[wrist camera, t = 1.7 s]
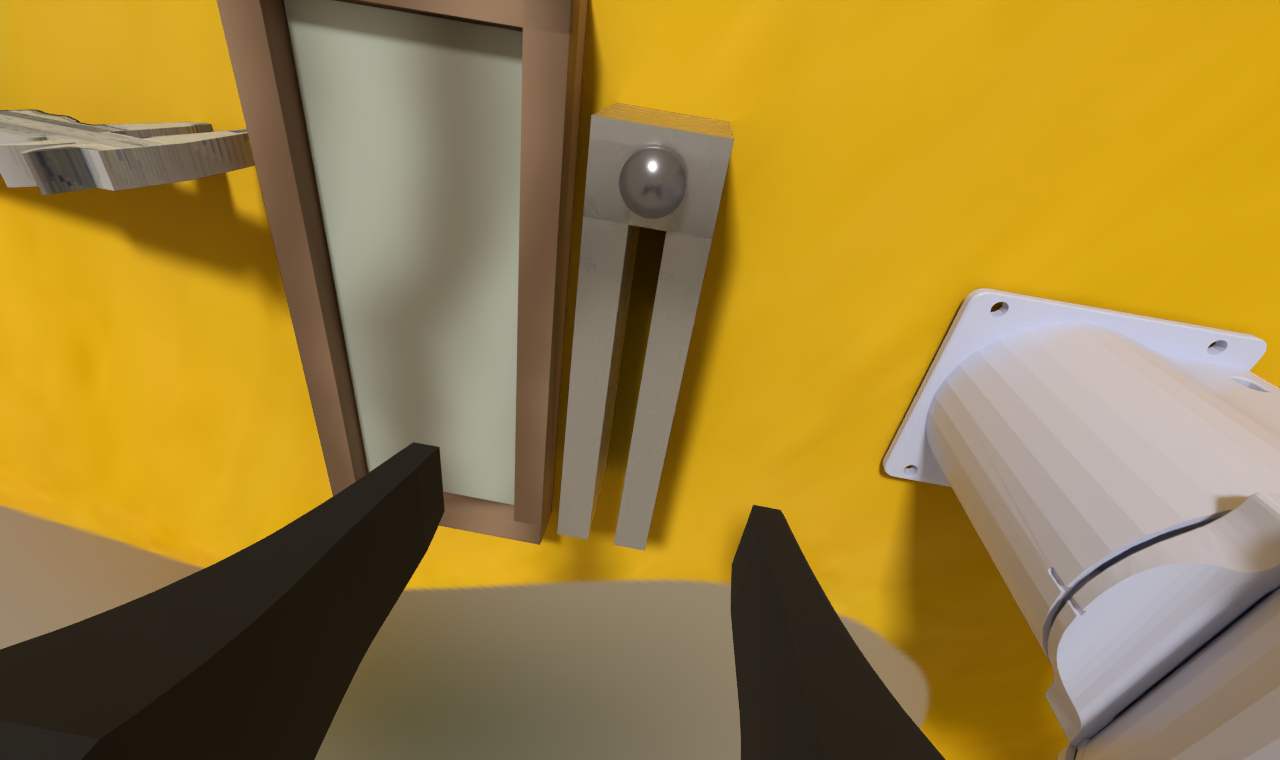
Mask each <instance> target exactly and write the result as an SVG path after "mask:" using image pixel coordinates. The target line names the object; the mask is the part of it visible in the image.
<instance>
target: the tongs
mask: <svg viewBox="0 0 1280 760" xmlns="http://www.w3.org/2000/svg"><path fill="white" fill-rule="evenodd" d="M733 141H734V138H733V134H732V131H731V127H730V124H729V122H727V121H722V120H716V119H710V118H704V117H698V116H692V115H686V114H680V113H674V112H668V111H662V110H657V109H651V108H645V107H639V106H633V105H627V104H621V103H616V104H614V105H612V106H609V107H607V108H605V109H603V110H601V111H599V112H597V113H595V114H592V115H591V127H590V139H589V151H588V163H587V176H586V188H585V200H584V212H583V224H582V237H581V249H580V261H579V273H578V286H577V298H576V310H575V322H574V334H573V347H572V359H571V371H570V383H569V395H568V408H567V420H566V432H565V444H564V456H563V469H562V481H561V493H560V505H559V518H558V530H557V534H560V535H565V536H571V537H576V538H581V539H586V540H588V538H589V534H590V530H591V526H592V522H593V518H594V514H595V511H596V507H597V503H598V499H599V495H600V491H601V487H602V483H603V479H604V476H605V472H606V466H607V459H608V451H609V444H610V437H611V430H612V423H613V416H614V409H615V402H616V394H617V387H618V380H619V373H620V366H621V359H622V352H623V345H624V338H625V330H626V323H627V316H628V309H629V302H630V295H631V288H632V281H633V274H634V266H635V259H636V252H637V245H638V238H639V231H640V227H645V228H650V229H656V230H662V231H666V237H665V243H664V249H663V255H662V261H661V267H660V272H659V278H658V284H657V290H656V296H655V302H654V308H653V314H652V320H651V326H650V332H649V338H648V344H647V350H646V356H645V362H644V368H643V374H642V380H641V386H640V391H639V397H638V403H637V409H636V415H635V421H634V427H633V433H632V439H631V445H630V451H629V457H628V463H627V469H626V475H625V481H624V487H623V493H622V499H621V505H620V511H619V516H618V522H617V528H616V534H615V540H614V545H618V546H623V547H629V548H634V549H639V550H644V551H645V547H646V543H647V538H648V533H649V529H650V524H651V519H652V515H653V510H654V506H655V501H656V496H657V492H658V487H659V482H660V478H661V473H662V469H663V464H664V459H665V455H666V450H667V445H668V441H669V436H670V432H671V427H672V422H673V418H674V413H675V409H676V404H677V399H678V395H679V390H680V385H681V381H682V376H683V372H684V367H685V362H686V358H687V353H688V348H689V344H690V339H691V335H692V330H693V325H694V321H695V316H696V312H697V307H698V302H699V298H700V293H701V288H702V284H703V279H704V275H705V270H706V265H707V261H708V256H709V251H710V247H711V242H712V238H713V233H714V228H715V224H716V219H717V214H718V210H719V205H720V201H721V196H722V191H723V187H724V182H725V178H726V173H727V168H728V164H729V159H730V154H731V150H732V145H733Z"/></svg>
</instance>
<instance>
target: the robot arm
mask: <svg viewBox="0 0 1280 760" xmlns="http://www.w3.org/2000/svg"><path fill="white" fill-rule="evenodd" d="M998 302H1003V304H1002V307H1001V308H1000V309H999V310H997V311H995V312H990V311H991V308H992V307H993V305H994V304H996V303H998ZM1216 341H1217V342H1216ZM1213 342H1216V343H1215V344H1214V345H1213V346H1212V347H1210V348H1208V347H1209V345H1211V344H1212V343H1213ZM1266 349H1267V344H1266V343H1265V341H1264V340H1262V339H1260V338H1258V337H1256V336H1253V335H1251V334H1245V333H1239V332H1234V331H1228V330H1222V329H1217V328H1211V327H1205V326H1199V325H1194V324H1188V323H1182V322H1176V321H1171V320H1165V319H1159V318H1154V317H1148V316H1142V315H1136V314H1131V313H1125V312H1119V311H1114V310H1108V309H1102V308H1096V307H1091V306H1085V305H1079V304H1073V303H1068V302H1062V301H1056V300H1051V299H1045V298H1039V297H1033V296H1028V295H1022V294H1016V293H1011V292H1005V291H999V290H993V289H988V288H980V289H977V290H974V291H973V292H971V293H970V294H968V296H967V297H966V298H965V300H964V302H963V304H962V306H961V308H960V309H959V311H958V313H957V315H956V317H955V319H954V321H953V323H952V325H951V327H950V329H949V331H948V333H947V335H946V337H945V339H944V341H943V343H942V345H941V347H940V349H939V351H938V353H937V355H936V357H935V359H934V361H933V363H932V365H931V367H930V369H929V371H928V373H927V375H926V376H925V378H924V380H923V382H922V384H921V386H920V388H919V390H918V392H917V394H916V396H915V398H914V400H913V402H912V404H911V406H910V408H909V410H908V412H907V414H906V416H905V418H904V420H903V422H902V424H901V426H900V428H899V430H898V432H897V434H896V436H895V438H894V440H893V442H892V443H891V445H890V447H889V449H888V451H887V453H886V455H885V457H884V459H883V463H882V464H883V467H884V470H885V472H886V473H887V474H888V475H890V476H893V477H898V478H904V479H909V480H915V481H920V482H926V483H931V484H936V485H942V486H947V487H952V489H953V491H954V493H955V495H956V496H957V498H958V500H959V502H960V503H961V505H962V507H963V509H964V511H965V512H966V514H967V516H968V518H969V519H970V521H971V523H972V525H973V527H974V528H975V530H976V532H977V534H978V535H979V537H980V539H981V541H982V543H983V544H984V546H985V548H986V550H987V552H988V553H989V555H990V557H991V559H992V560H993V562H994V564H995V566H996V568H997V569H998V571H999V573H1000V575H1001V576H1002V578H1003V580H1004V582H1005V584H1006V585H1007V587H1008V589H1009V591H1010V592H1011V594H1012V596H1013V598H1014V600H1015V601H1016V603H1017V605H1018V607H1019V609H1020V610H1021V612H1022V614H1023V616H1024V617H1025V619H1026V621H1027V623H1028V625H1029V626H1030V628H1031V630H1032V632H1033V633H1034V635H1035V637H1036V639H1037V641H1038V642H1039V644H1040V646H1041V648H1042V649H1043V651H1044V653H1045V655H1046V657H1047V658H1048V660H1049V661H1050V662H1051V665H1052V668H1053V671H1054V681H1053V683H1052V685H1051V686H1050V688H1049V689H1048V690H1047V691H1046V693H1045V697H1046V699H1047V701H1048V702H1049V704H1050V706H1051V708H1052V710H1053V712H1054V714H1055V716H1056V718H1057V720H1058V721H1059V723H1060V725H1061V727H1062V729H1063V731H1064V733H1065V735H1066V737H1067V739H1068V741H1069V742H1070V743H1069V744H1068V745H1067V746H1066V747H1065V748H1064V749H1063V750H1062V751H1060V753H1059V755H1058V757H1057V759H1056V760H1280V389H1279V388H1278V387H1276V386H1274V385H1272V384H1271V383H1269V382H1267V381H1266V380H1264V379H1262V378H1260V377H1259V376H1257V375H1255V374H1253V373H1252V372H1250V369H1251V368H1252V367H1253V366H1254V365H1255V364H1256V363H1257V362H1258V360H1259V359H1260V358H1261V357H1262V356H1263V355H1264V353H1265V351H1266ZM909 465H914V466H913V467H911V468H909V469H904V468H905V467H907V466H909ZM444 511H445V508H444V496H443V483H442V471H441V458H440V447H437V446H432V445H426V444H421V443H416V442H413V443H412V444H410V445H409V446H407V447H406V448H404V449H402V450H401V451H399V452H398V453H397V454H395V455H394V456H392V457H391V458H389V459H388V460H386V461H385V462H383V463H382V464H381V465H379V466H378V467H376V468H375V469H373V470H372V471H370V472H369V473H368V474H366V475H365V476H363V477H362V478H360V479H359V480H357V481H356V482H354V483H353V484H351V485H350V486H348V487H347V488H345V489H344V490H342V491H341V492H339V493H338V494H336V495H335V496H333V497H332V498H330V499H329V500H327V501H326V502H324V503H322V504H321V505H319V506H318V507H316V508H314V509H313V510H311V511H309V512H308V513H306V514H305V515H303V516H301V517H300V518H298V519H296V520H295V521H293V522H291V523H290V524H288V525H286V526H285V527H283V528H282V529H280V530H278V531H276V532H274V533H273V534H271V535H269V536H267V537H266V538H264V539H262V540H260V541H258V542H256V543H255V544H253V545H251V546H249V547H247V548H245V549H243V550H241V551H239V552H237V553H235V554H233V555H231V556H230V557H228V558H226V559H224V560H222V561H220V562H218V563H216V564H214V565H211V566H209V567H207V568H205V569H203V570H201V571H198V572H196V573H194V574H192V575H190V576H187V577H185V578H183V579H181V580H179V581H176V582H175V583H172V584H170V585H168V586H166V587H163V588H161V589H159V590H157V591H155V592H152V593H150V594H148V595H145V596H143V597H140V598H138V599H136V600H133V601H131V602H128V603H126V604H124V605H121V606H119V607H116V608H114V609H111V610H108V611H106V612H103V613H101V614H98V615H96V616H93V617H90V618H88V619H85V620H83V621H80V622H78V623H75V624H72V625H69V626H67V627H64V628H61V629H59V630H56V631H53V632H51V633H48V634H44V635H42V636H39V637H36V638H33V639H30V640H27V641H24V642H21V643H18V644H15V645H12V646H9V647H7V648H4V649H1V650H0V760H314V759H315V757H316V755H317V753H318V750H319V748H320V746H321V744H322V741H323V740H324V737H325V735H326V733H327V731H328V729H329V727H330V724H331V722H332V720H333V718H334V716H335V714H336V712H337V709H338V707H339V705H340V703H341V701H342V698H343V697H344V695H345V693H346V691H347V689H348V687H349V685H350V683H351V681H352V679H353V676H354V674H355V673H356V671H357V668H358V666H359V664H360V662H361V661H362V659H363V657H364V655H365V653H366V652H367V650H368V648H369V646H370V644H371V642H372V641H373V639H374V637H375V636H376V634H377V633H378V631H379V629H380V627H381V626H382V624H383V623H384V621H385V620H386V618H387V616H388V615H389V613H390V611H391V610H392V608H393V606H394V605H395V603H396V602H397V600H398V598H399V597H400V595H401V593H402V592H403V590H404V588H405V587H406V585H407V584H408V582H409V580H410V579H411V577H412V575H413V574H414V572H415V570H416V568H417V567H418V565H419V563H420V562H421V560H422V558H423V557H424V555H425V553H426V552H427V549H428V547H429V545H430V543H431V541H432V539H433V537H434V534H435V532H436V530H437V528H438V525H439V523H440V521H441V518H442V516H443V514H444ZM731 619H732V631H733V643H734V654H735V665H736V676H737V688H738V698H739V710H740V727H741V760H945V759H944V757H943V756H942V755H941V754H940V753H939V751H938V750H937V749H936V748H935V747H934V746H933V744H932V743H931V742H930V741H929V740H928V738H927V737H926V736H925V735H924V734H923V732H922V731H921V730H920V729H919V728H918V726H917V725H916V724H915V723H914V722H913V721H912V719H911V718H910V717H909V716H908V715H907V713H906V712H905V711H904V710H903V708H902V707H901V706H900V704H899V703H898V702H897V700H896V699H895V698H894V697H893V695H892V694H891V693H890V692H889V690H888V689H887V688H886V686H885V685H884V683H883V682H882V681H881V679H880V678H879V676H878V675H877V674H876V672H875V671H874V670H873V668H872V667H871V666H870V664H869V663H868V661H867V660H866V658H865V657H864V655H863V654H862V652H861V651H860V650H859V648H858V646H857V645H856V643H855V642H854V640H853V639H852V637H851V636H850V634H849V633H848V631H847V629H846V628H845V626H844V625H843V623H842V621H841V620H840V618H839V617H838V615H837V613H836V612H835V610H834V608H833V607H832V605H831V603H830V602H829V600H828V598H827V596H826V595H825V593H824V591H823V589H822V588H821V586H820V584H819V582H818V581H817V579H816V577H815V575H814V574H813V572H812V570H811V568H810V566H809V564H808V562H807V560H806V559H805V557H804V555H803V553H802V551H801V549H800V547H799V545H798V543H797V541H796V539H795V537H794V535H793V533H792V531H791V529H790V527H789V525H788V523H787V521H786V519H785V517H784V515H783V513H782V512H781V510H778V509H772V508H767V507H762V506H756V505H753V507H752V510H751V513H750V516H749V518H748V521H747V524H746V527H745V530H744V532H743V535H742V538H741V541H740V544H739V546H738V549H737V552H736V555H735V558H734V560H733V563H732V578H731Z"/></svg>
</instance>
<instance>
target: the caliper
mask: <svg viewBox="0 0 1280 760" xmlns="http://www.w3.org/2000/svg"><path fill="white" fill-rule="evenodd" d="M254 165H255V161H254V157H253V153H252V148H251V144H250V140H249V136H248V131H247V129H241V130H230V131H218V132H213V129H212V126H211V124H206V123H198V122H184V123H144V124H105V125H91V124H85V123H80V122H79V121H78V120H76V119H74V118H72V117H69V116H64V115H55V114H48V113H45V112H42V111H39V110H0V174H1V175H2V177H3V179H4V181H5V183H6V185H7V187H33V186H38V187H39V189H40V191H41V193H42V195H43V196H44V195H50V194H57V193H64V192H71V191H78V190H85V189H91V188H101V189H106V190H112V191H118V190H125V189H132V188H139V187H146V186H153V185H160V184H167V183H174V182H181V181H188V180H195V179H199V178H203V177H208V176H212V175H216V174H221V173H225V172H229V171H234V170H238V169H242V168H246V167H250V166H254Z"/></svg>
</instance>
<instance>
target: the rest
mask: <svg viewBox="0 0 1280 760" xmlns="http://www.w3.org/2000/svg"><path fill="white" fill-rule="evenodd" d="M217 4H218V8H219V12H220V16H221V21H222V25H223V29H224V33H225V38H226V42H227V46H228V50H229V55H230V59H231V63H232V67H233V72H234V76H235V80H236V84H237V89H238V93H239V97H240V102H241V106H242V110H243V114H244V119H245V123H246V127H247V131H248V136H249V140H250V144H251V148H252V153H253V157H254V161H255V165H256V170H257V174H258V178H259V182H260V187H261V191H262V195H263V199H264V204H265V208H266V212H267V217H268V221H269V225H270V229H271V234H272V238H273V242H274V246H275V251H276V255H277V259H278V263H279V268H280V272H281V276H282V280H283V285H284V289H285V293H286V297H287V302H288V306H289V310H290V314H291V319H292V323H293V327H294V332H295V336H296V340H297V344H298V349H299V353H300V357H301V361H302V366H303V370H304V374H305V378H306V383H307V387H308V391H309V395H310V400H311V404H312V408H313V412H314V417H315V421H316V425H317V430H318V434H319V438H320V442H321V447H322V451H323V455H324V459H325V464H326V468H327V472H328V476H329V481H330V485H331V489H332V493H333V496H335V495H336V494H338V493H339V492H341V491H342V490H344V489H345V488H347V487H348V486H350V485H351V484H353V483H354V482H356V481H357V480H359V479H360V478H362V477H363V476H365V475H366V474H368V473H369V472H370V471H372V470H373V469H375V468H376V467H378V466H379V465H381V464H382V463H383V462H385V461H386V460H388V459H389V458H391V457H392V456H394V455H395V454H397V453H398V452H399V451H401V450H402V449H404V448H406V447H407V446H409V445H410V444H412V443H413V442H416V443H421V444H426V445H432V446H437V447H440V458H441V471H442V483H443V496H444V508H445V511H444V514H443V516H442V518H441V521H440V523H439V526H444V527H450V528H455V529H460V530H465V531H471V532H476V533H481V534H487V535H492V536H497V537H502V538H508V539H513V540H518V541H523V542H529V543H534V544H539V545H540V543H541V540H542V537H543V534H544V531H545V529H546V526H547V523H548V520H549V517H550V514H551V510H552V496H553V482H554V468H555V454H556V440H557V426H558V412H559V398H560V384H561V370H562V356H563V342H564V328H565V314H566V300H567V286H568V272H569V258H570V244H571V230H572V217H573V203H574V189H575V175H576V161H577V147H578V133H579V119H580V105H581V91H582V77H583V63H584V49H585V35H586V21H587V7H588V0H217Z"/></svg>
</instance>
